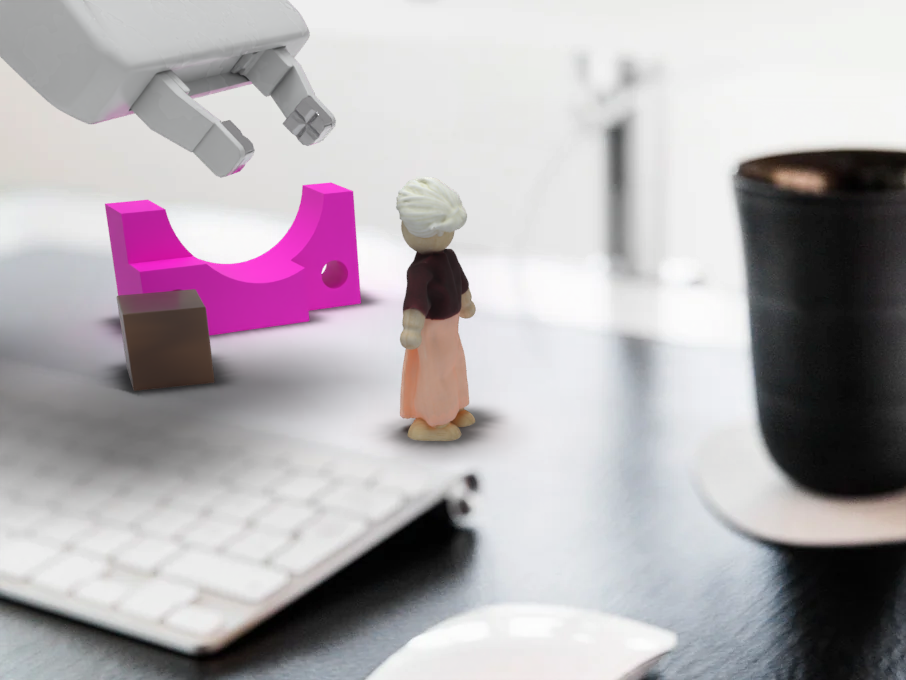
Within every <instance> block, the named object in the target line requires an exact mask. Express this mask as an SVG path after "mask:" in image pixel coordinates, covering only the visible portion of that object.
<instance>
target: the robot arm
mask: <svg viewBox="0 0 906 680" xmlns="http://www.w3.org/2000/svg"><path fill="white" fill-rule="evenodd" d="M310 33H311V32H310V30H309V26H308V25H307V23H306V20H305V19H304V18H303V16H302V14H301V13H300V11H299V10H298V9H297V8H296V7H295V6H294V5H293V4H292V3H291V2H290V1H289V0H0V58H1V59H2V60H3V61H4V62H5V63H6V64H7V65H8V66H9V67H10V68H11V69H12V70H13V71H14V72H15V73H16V74H17V75H18V76H19V77H20V78H22V79H23V81H25V82H26V84H27V85H29V86H30V87H31V88H32V89H33V90H34V91H35V92H36V93H37V94H38V95H40V96H41V97H42V98H43V99H44V100H45V101H46V102H48V103H49V104H50V105H51V106H53V108H55V109H57V110H58V111H60V112H62V113H64V114H66V115H67V116H70V117H72V118H74V119H75V120H78V121H80V122H82V123H84V124H87V125H96V124H100V123H103V122H108V121H111V120H115V119H121V118H124V117H127V116H132V115H136V116H137V117H138V118H139V119H140V120H141V121H142V122H143V124H144V125H146V127H148V128H149V129H150V130H151V131H153V132H154V133H156V134H158V135H160V136H161V137H163V138H165V139H167V140H169V142H172V143H174V144H176V145H178V146H179V147H180V148H183V149H184V150H186V151H187V152H190V153H193V154H194V155H195V156H196V157H197V158H198V159H199V160H200V162H201V163H203V164H204V166H205V167H206V168H208V170H209V171H211V173H212V174H213V175H214V176H216V177H218V178H221V179H222V178H225V177H228V176H231V175H232V176H233V175H234V174H237V173H239V172H241V171H242V170H243V169H244V167H245V166H246V164H247V163H248V162H249V161H250V160H251V159H252V158H253V156H254V154H255V147H254V143H253V142H252V141H251V140H250V139H249V138H248V137H246V136H245V135H243V133H242V131H241V129H239V127H238V126H237V125H235V123H233V121H232V120H230V119H229V120H223V121H222V120H220V119H219V118H218V117H217V116H215V115H214V114H213V113H211V112H210V110H208V109H207V108H205V107H204V106H203V105H201V104H200V103H199V102H198V101H197V100H195V99H198V98H202V97H207V96H211V95H215V94H219V93H222V92H227V91H230V90H235V89H237V88H242V87H246V86H250V85H253V86H254V87H255V88H256V89H257V90H258V91H259V92H260V93H261V94H262V95H263V96H264V97H266V98H267V97H271V98H272V100H273V101H274V103H275V104H276V105H277V107H278V108H279V110H280V112H281V113H282V114H283V116H284V117H285V120H284V121H283V122H282V125H283V126H284V127H285V128H286V129H287V130H288V131H289V133H290V134H292V135H293V136H295V137H296V139H297V141H298V142H300V144H301V145H303V146H307V147H310V146H312V145H313V146H314V145H315V144H319V143H322V142H323V141H324V140H325V139H326V138H327V137H328V135H330V134H331V132H332V131H333V130H334V129H335V127H336V123H337V119H336V117H335V115H334V114H333V113H332V112H331V111H330V109H328V108H327V106H326V105H325V104H324V103H323V102H322V101H321V100H320V99H319V97H317V96H316V93H315V91H314V88H313V87H312V85H311V82H310V80H309V79H308V77H307V74H306V72H305V70H304V69H303V67H302V64H301V63H300V62H299V61H298V60H297V59H296V57H297V55H298V54H299V52H301V49H303V47H304V46H305V44H306V43H308V41H309V38H310V36H311V35H310Z"/></svg>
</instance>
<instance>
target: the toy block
mask: <svg viewBox="0 0 906 680" xmlns="http://www.w3.org/2000/svg"><path fill="white" fill-rule="evenodd" d="M301 188H302V189H301V197H300V202H299V207H298V210H297V213H296V215H295V218H294V219H293V222H292V224H291V226H290V227H289V229H288V230H287V232H286V233H285V234H284V236H282V237H281V239H280V240H279V241H278V242H277V243H276V244H275V245H273V247H271V248H270V249H269V250H267V251H265V252H264V253H263V254H261V255H258V256H256V257H254V258H251V259H248V260H245V261H241V262H234V263H217V262H211V261H206V260H205V259H201V258H198V257H196V256H195V255H193V254H192V253H191V252H190V251H189V250H188V248H187V247H186V246H184V244H183V242H181V240H180V239H179V237H178V236H177V234H176V232H175V231H174V229H173V226H172V223H171V222H170V219H169V217H168V214H167V210H166V209H165V208H164V207H162V206H160V205H158V204H156V203H155V202H153V201H151V200H149V199H140V200H130V201H119V202H108V203H107V202H106V203H104V206H105V207H104V208H105V214H106V221H107V230H108V235H109V236H108V237H109V242H110V249H111V256H112V263H113V269H114V277H115V281H116V282H115V283H116V291H117V296H118V295H131V294H143V293H155V292H167V291H180V290H192V289H195V290H196V291H197V293H198V295H199V297H200V298H201V300H202V302H203V304H204V306H205V307H206V313H207V321H208V329H209V337H210V336H217V335H225V334H231V333H238V332H244V331H252V330H259V329H265V328H273V327H279V326H287V325H294V324H300V323H308V322H310V312H311V311H317V310H323V309H325V310H326V309H331V308H340V307H345V306H346V307H347V306H353V305H360V304H362V298H361V283H360V269H359V256H358V241H357V239H358V238H357V228H356V226H357V225H356V212H355V196H354V190H352V189H349V188H347V187H345V186H341V185H338V184H336V183H333V182H321V183H310V184H302V187H301ZM324 267H325V269H324ZM323 269H324V270H323Z"/></svg>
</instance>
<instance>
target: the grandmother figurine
mask: <svg viewBox="0 0 906 680" xmlns="http://www.w3.org/2000/svg"><path fill="white" fill-rule="evenodd" d="M395 203H396V204H395V205H396V206H395V209H396V210H397V211H398V214H399V220H401V224H400V230H401V234H402V237H403V240H404V241H405V243H406V245H407V246H408V247H409V248H411V249H412V250H413V251H415V255H414V258H413V260H412V262H411V263H410V264H409V266H408V267H407V270H406V289H405V295H404V299H403V304H402V322H401V323H402V331H401V333H400V336H399V342H400V344H401V346H402V347H403V348H404V349H405V350H404V356H403V363H402V369H401V384H400V393H399V395H400V397H399V400H400V401H399V417H401V418H402V419H405V420H410V419H414V420H413V422H412V423H411V424H410V426H409V428H408V431H407V438H409V439H410V440H414V441H422V442H425V441H426V442H452V441H456V440H458V439H460V438H461V436H462V432H461V429H460V428H465V427H470V426H472V425H474V424H475V423H476V418H475V417H474V415H473V413H471V412H470V411H468V410H467V409H465V408H466V407H467V406H469V404H470V392H469V382H468V374H467V373H468V372H467V361H466V355H465V350H464V347H463V344H462V340H461V337H460V333H459V324H460V318H461V319H471V318H472V317H473V316H475V313H476V311H477V310H476V308H477V307H476V305H475V303H474V301H473V300H472V298H473V296H472V292H471V290H470V282H469V279H468V278H467V276H466V274H465V272H464V269H463V268H462V265H461V264H460V261H459V259H458V257H457V254H456V252H455V251H454V250H453V249H452V248H448V247H450V244H451V243H452V241H453V239H454V237H455V232H456V231H457V230H460V229H461V228H463V227H464V226H465V224H466V223H467V220H468V213H467V210H466V209H465V207H464V205H463V202H462V199H461V197H460V194H459V193H458V192H457V191H456V190H454V189H453V188H451V187H450V186H449V185H448V184H447V183H445V182H443V181H442V180H440V179H438V178H436V177H429V176H424V177H416V178H415V179H410V180H408V181H407V182H406V183H405V184H404V186H403V187H402V188H401V189H399V190H398V191H397V196H396V202H395Z"/></svg>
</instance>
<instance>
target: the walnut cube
mask: <svg viewBox="0 0 906 680" xmlns="http://www.w3.org/2000/svg"><path fill="white" fill-rule="evenodd" d="M116 303H117V309H118V318H119V324H120V331H121V336H122V343H123V344H122V345H123V351H124V357H125V365H126V370H127V373H128V374H127V375H128V377H129V380H130V384H131V386H132V390H133V392H137V391H138V392H139V391H146V390H147V391H148V390H157V389H166V388H176V387H185V386H195V385H196V386H197V385H206V384H215V383H216V380H215V372H214V364H213V355H212V348H211V346H212V345H211V338H210V336H209V329H208V321H207V313H206V307H205V306H204V304H203V302H202V300H201V298H200V297H199V295H198V293H197V291H196V290H195V289H192V290H180V291H167V292H155V293H143V294H131V295H118V294H117V296H116Z"/></svg>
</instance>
